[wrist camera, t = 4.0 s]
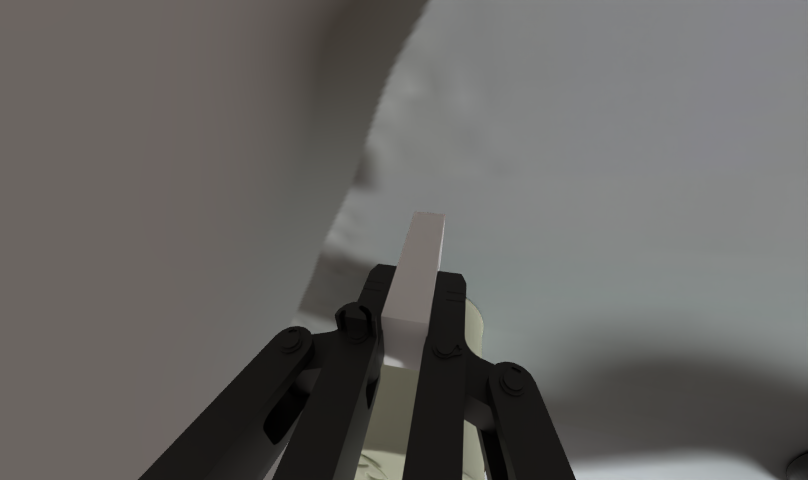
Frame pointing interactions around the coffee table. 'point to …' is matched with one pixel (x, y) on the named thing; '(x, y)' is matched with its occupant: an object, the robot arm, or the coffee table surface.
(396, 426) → the can
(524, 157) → the coffee table surface
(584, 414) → the coffee table surface
